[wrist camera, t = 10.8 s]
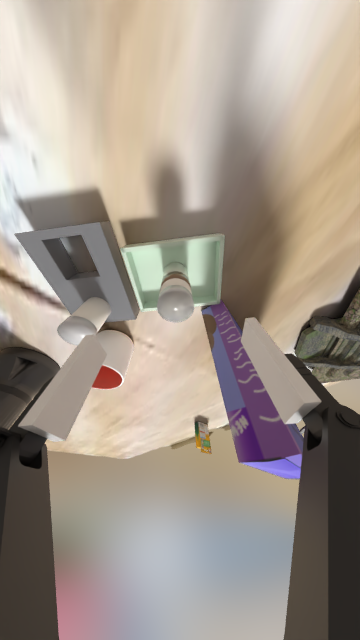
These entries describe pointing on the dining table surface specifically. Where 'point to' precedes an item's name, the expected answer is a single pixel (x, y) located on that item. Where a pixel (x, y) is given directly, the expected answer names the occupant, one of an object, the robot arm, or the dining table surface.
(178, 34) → the dining table surface
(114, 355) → the cup
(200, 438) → the crayon box
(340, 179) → the dining table surface
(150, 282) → the parts tray
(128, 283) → the fuse holder block
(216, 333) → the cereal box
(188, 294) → the cylinder
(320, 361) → the metal base with loops
